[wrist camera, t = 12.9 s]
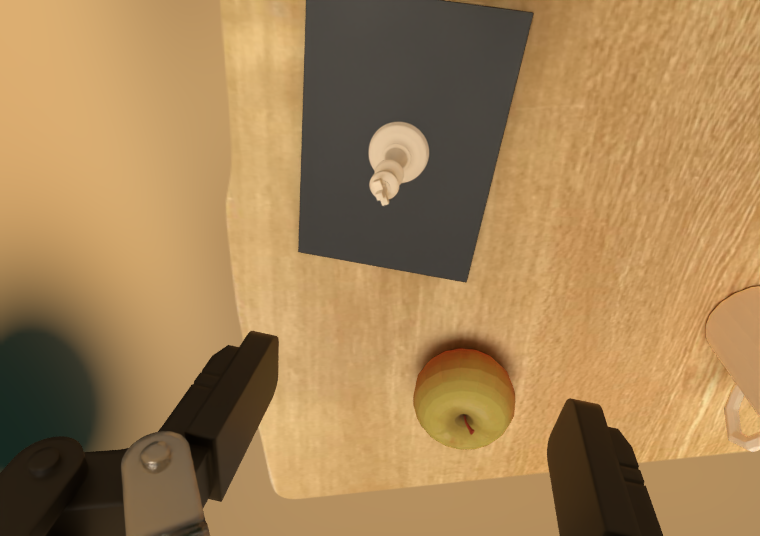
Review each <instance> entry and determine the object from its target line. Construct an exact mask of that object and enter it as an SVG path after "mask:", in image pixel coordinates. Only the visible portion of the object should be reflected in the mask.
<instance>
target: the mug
mask: <svg viewBox="0 0 760 536" xmlns="http://www.w3.org/2000/svg"><path fill="white" fill-rule="evenodd" d="M706 339H707V341H708V343H709V345H710V347H711V348H712V350H713V351H714V353H715V354H716V356H717V357H718V358H719V360H720V361H721V363H722V364H723V366H724V367H725V368H726V370H727V371H728V373H729V374H730V376H731V377H732V378H733V380H734V381H735V383H736V384H735V385H734V386H733V388H732V390H731V392H730V395H729V397H728V400H727V402H726V405H725V407H724V412H725V420H726V427H727V434H728V440H729V441H731V442H733V443H735V444H737V445H739V446H741V447H743V448H745V449H747V450H749V451H752V452H754V451H757V450H760V432H758V433H755V434H753V435H751V436H747V435H745V434H743V433H742V432H741V425H740V418H739V411H738V410H739V408H740V405H741V402H742V400H743V397H744V395H745V397H746V398H747V400H748V401H749V403H750V404H751V405H752V407H753V408H754V410H755V411H756V413H757V414H758V415H759V417H760V286H756V287H750V288H748V289H745V290H742V291H740V292H737V293H734V294H733V295H731V296H730V297H728V298H727V299H725V300H724V301H722V302H721V303H720V304H719V305H718V306H717V307H716V308H715V309H714V310H713V312H712V313H711V314H710V316H709V319H708V321H707V323H706Z"/></svg>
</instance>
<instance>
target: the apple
mask: <svg viewBox="0 0 760 536" xmlns="http://www.w3.org/2000/svg"><path fill="white" fill-rule="evenodd" d="M414 409H415V412H416V415H417V419H418V420H419V422H420V424H421V426H422V427H423V428H424V429H425V430H426V432H427V433H428V434H429V435H430V436H431V437H432V438H433V439H435V440H436V441H438V442H440V443H442V444H443V445H445V446H448V447H452V448H456V449H477V448H480V447H484V446H487V445H489V444H490V443H492V442H493V441H495V440H496V439H498V438H499V437H500V436H502V435H503V433H504V432H505V430H506V429H507V427H508V426H509V424H510V423H511V421H512V419H513V417H514V410H515V392H514V389H513V385H512V383H511V380H510V378H509V376H508V373H507V371H506V370H505V369H504V368H503V367H501V366H500V365H499V364H498V363H497V362H496V361H495V360H494V359H493V358H492V357H491V356H489V355H487V354H484V353H482V352H480V351H477V350H472V349H461V348H459V349H454V350H449V351H444V352H443V353H441V354H439V355H437V356H436V357H434V358H432V359H431V360H430V361H429V362H428V363H427V364H426V366H425V367H424V368H423V369H422V371H421V372H420V373H419V375H418V378H417V382H416V387H415V392H414Z"/></svg>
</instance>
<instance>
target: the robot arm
mask: <svg viewBox="0 0 760 536" xmlns="http://www.w3.org/2000/svg"><path fill="white" fill-rule="evenodd" d="M278 346H279V341H278V337H277V336H274V335H269V334H265V333H260V332H255V331H250V332H249V333H248V335H247V336H246V338H245V339H244V341H243V342H242V344H241V345H240V347H235V346H230V345H228V346H226V347H225V348H223V349H222V350H220V351H219V352H217V353H216V354H214V355H213V356H212V357H211V358H210V360H209V361H208V363H207V364H206V366H205V367H204V368H203V370H202V373H200V374H199V375H198V377H197V378H196V380H195V381H194V384H193V385H191V387H190V388H189V390H188V391H187V392H186V394H185V395H184V396H183V398H182V399H181V401H180V402H179V404H178V405H177V406H176V408H175V409H174V410H173V412H172V413H171V415H170V416H169V418H168V419H167V420H166V422H165V423H164V425H163V426H162V427H161V428H160V430H159V431H158V432H155V433H152V434H149V435H146V436H144V437H142V438H140V439H139V440H137V441H136V442H135V443H133V444H132V445H131V446H130V447H129V448H127V449H121V450H110V451H96V452H83V449H82V446H81V445H80V443H79V442H77V441H76V440H74V439H72V438H69V437H52V438H47V439H43V440H41V441H38V442H36V443H34V444H32V445H30V446H29V447H27V448H25V449H24V450H22V451H21V452H20V453H18V455H16V457H14V459H13V460H12V461H11V462H10V463H9V464H8V465H7V466H6V467H5V469H4V470H3V471H2V472H1V473H0V536H210V534H209V529H208V526H207V523H206V521H205V517H204V513H203V508H204V505H205V504H206V502H207V500H208V499H212V500H216V501H220V502H221V501H222V500H223V498H224V496H225V494H226V491H227V489H228V487H229V485H230V483H231V481H232V479H233V477H234V475H235V473H236V471H237V469H238V467H239V465H240V463H241V461H242V459H243V457H244V455H245V453H246V451H247V449H248V447H249V444H250V442H251V441H252V438H253V436H254V434H255V432H256V430H257V428H258V426H259V424H260V422H261V420H262V418H263V416H264V414H265V412H266V410H267V408H268V406H269V404H270V402H271V400H272V398H273V395H274V392H275V389H276V386H277V381H278ZM547 460H548V466H549V472H550V478H551V484H552V491H553V497H554V503H555V509H556V515H557V521H558V528H559V534H560V536H663V534H662V531H661V528H660V525H659V522H658V520H657V517H656V514H655V511H654V508H653V505H652V503H651V500H650V497H649V494H648V491H647V488H646V486H644V480H643V477H642V474H641V471H640V470H639V469H638V467H639V466H638V463H637V460H636V457H635V454H634V451H633V448H632V447H631V445H630V444H629V443H628V441H627V440H626V439H625V437H624V436H623V435H622V433H621V432H620V431H619V430H618V429H616V428H611V427H608V426H607V423H606V420H605V417H604V413H603V410H602V408H601V406H600V405H599V404H595V403H590V402H585V401H580V400H575V399H568V400H567V401H566V403H565V405H564V407H563V409H562V411H561V413H560V415H559V417H558V419H557V422H556V424H555V426H554V428H553V430H552V432H551V434H550V437H549V441H548V447H547Z"/></svg>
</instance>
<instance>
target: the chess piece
mask: <svg viewBox="0 0 760 536" xmlns="http://www.w3.org/2000/svg"><path fill="white" fill-rule="evenodd" d="M428 159H429V146H428V143H427V140H426V138H425V136H424V135H423V134H422V132H421V131H420V130H419V129H417V128H416V127H415V126H413V125H411V124H409V123H405V122H391V123H388V124H386V125H384V126H382V127H381V128H379V129H378V130H377V131H376V132H375V134H374V135H373V137H372V139H371V141H370V145H369V160H370V163H371V166H372V168H373V169H374V171H375V172H374V175H373V176H372V177H371V179H370V183H369V186H370V190H371V192H372V194H373V195H374V196H375V197H376V198H377V201H379V200H380V201H381V204H382V206H384V205H387V204H389V199H391V198H393V197H394V196H395V195H396V194H397V193H398V190H399V185H400V184H401V183H405V182H409V181H411V180H413V179H415V178H416V177H417V176H419V175H420V174H421V172H422V171H423V170H424V168H425V167H426V165H427V162H428Z"/></svg>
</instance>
